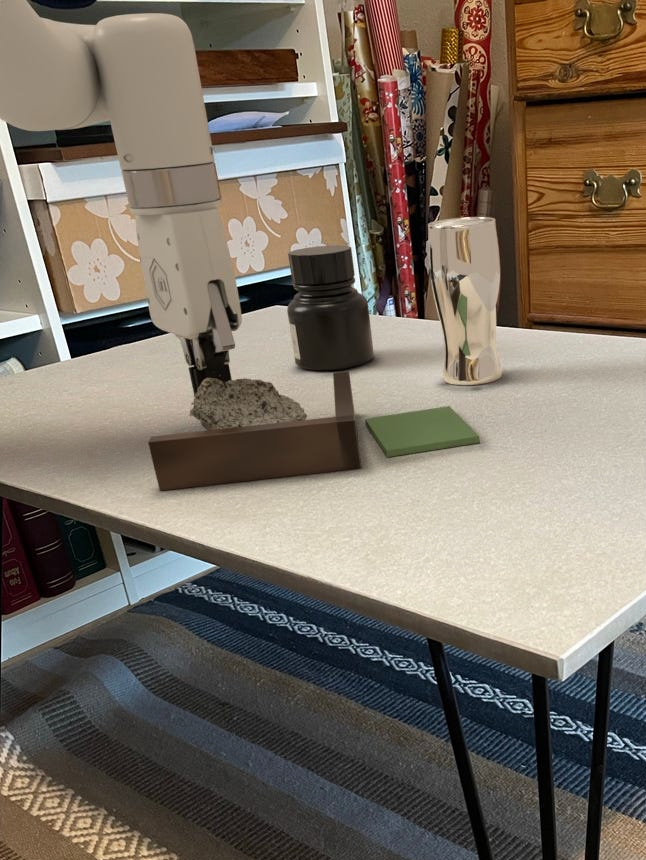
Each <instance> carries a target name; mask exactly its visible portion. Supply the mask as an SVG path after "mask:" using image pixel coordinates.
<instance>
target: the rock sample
mask: <svg viewBox="0 0 646 860" xmlns="http://www.w3.org/2000/svg"><path fill="white" fill-rule="evenodd" d="M219 376H220V375H219ZM198 388H199V389H197V391H198V392H197V393H196V394H195V397H193V400H192V402H191V403H190V405H191V406H192V405H193V407H192V408H190V410H189V413H188V417H190V418H195V419H196V420H197V422H198V421H199V422H200V424H201V426H202V427H203V428H204V429H205V430H206V431H208V430H217V429H226V428H235V427H245V426H254V425H263V424H273V423H282V422H291V421H300V420H307V417H308V418H309V417H310V416H309V415H308V414H307V413H306V412H305V409H304V408H303V407H302V406H301V404H300V402H298V401H296V400H294V399H293V398H291V397H289V396H286V395H284V394H280V393H279V391H278V389H276V387H275V386H274V384H273V383H272V382H271V381H264V380H263V379H251V378H245V377H244V378H236V379H232V380H229V381H228V382H224V381H220V380H219V379H216V378H206V379H204V380H203V382H202V383H201V384H200V387H198ZM303 395H304V393H303Z"/></svg>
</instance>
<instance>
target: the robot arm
mask: <svg viewBox="0 0 646 860" xmlns="http://www.w3.org/2000/svg"><path fill="white" fill-rule="evenodd" d="M200 77H201V76H200V71H199V65H198V59H197V54H196V48H195V43H194V39H193V35H192V32H191V29H190V28H189V26H188V25H187V23H186V22H185V21H184V20H183V19H182V18H180V16H177V15H174V14H170V13H161V12H160V13H159V12H157V13H155V12H151V13H150V12H145V13H143V12H142V13H129V14H120V15H114V16H109V17H105V18H103V19H101V20H99V21H98V22H97V23H96V24H79V23H71V22H62V21H56V20H52V19H49V18H45V17H41V16H39V15H38V13H37V12H36V11H35V10H34V8H33V7H32V6H31V4H30V3H29V2H28V0H0V120H1V121H4V122H6V123H7V124H9V125H11V126H13V127H15V128H17V129H20V130H24V131H29V132H48V131H49V132H50V131H65V130H74V129H81V128H85V127H91V126H93V125H98V124H102V123H105V122H110V126H111V132H112V136H113V140H114V144H115V148H116V154H117V157H118V163H119V167H120V170H121V175H122V179H123V185H124V188H125V189H124V190H125V193H126V197H127V202H128V206H129V211H130V215H131V216H133V215H134V219H135V229H136V230H135V231H136V239H137V248H138V255H139V262H140V267H141V273H142V279H143V283H144V289H145V294H146V300H147V306H148V310H149V316H150V319H151V322H152V323H153V325H154V326H155V327H156V328H158V329H159V330H162V331H164V332H166V333H169V334H172V335H174V336H175V337H176V338H178V339H179V341H180V345H181V348H182V353H183V356H184V359H185V363H186V365H187V366H188V373H189V378H190V381H191V382H190V383H191V387H192V391H193V396H194V397H193V398H195V394H196V393H197V392H198V391H197V389H199V388H198V387H200V384H201V383H202V382H203V380H204V379H206V378H216V379H219V380H220V381H224V382H228V381H229V380H233V378H232V374H231V369H230V362H231V360H230V351H231V350H234V349H236V342H235V339H234V335H233V332H236V331H238V329H239V328H240V327H241V325H242V320H243V319H242V308H241V301H240V296H239V290H238V285H237V279H236V276H235V271H234V265H233V262H232V258H231V254H230V249H229V246H228V245H229V244H228V241H227V237H226V233H225V230H224V226H223V222H222V219H221V216H220V215H221V214H220V213H219V209H218V208H220V207H222V206H223V205H224V204H223V200H222V199H223V198H222V194H221V193H222V192H221V188H220V183H219V176H218V171H217V166H216V162H215V161H216V160H215V159H216V158H215V155H214V150H213V143H212V138H211V137H212V136H211V133H210V127H209V121H208V116H207V111H206V105H205V99H204V94H203V87H202V83H201V78H200ZM219 375H220V376H219Z"/></svg>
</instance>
